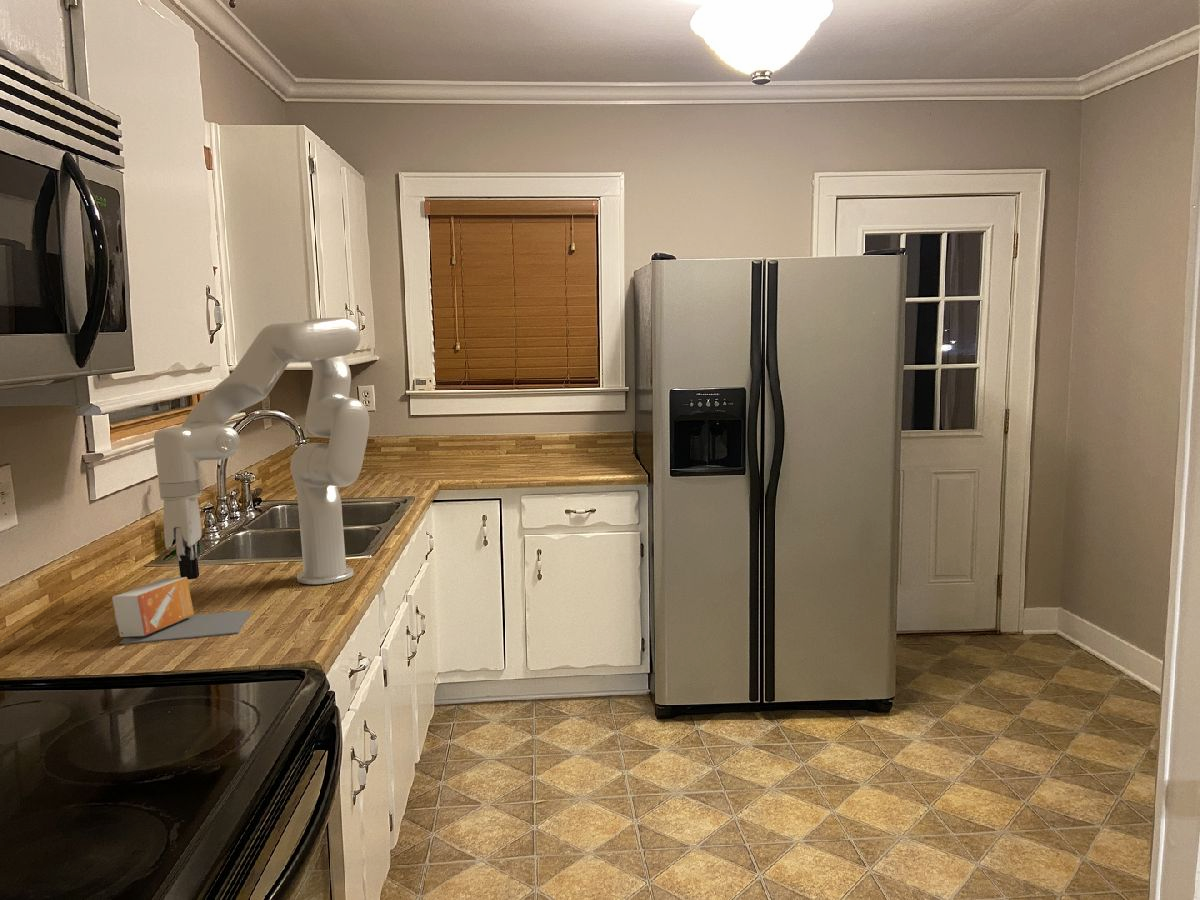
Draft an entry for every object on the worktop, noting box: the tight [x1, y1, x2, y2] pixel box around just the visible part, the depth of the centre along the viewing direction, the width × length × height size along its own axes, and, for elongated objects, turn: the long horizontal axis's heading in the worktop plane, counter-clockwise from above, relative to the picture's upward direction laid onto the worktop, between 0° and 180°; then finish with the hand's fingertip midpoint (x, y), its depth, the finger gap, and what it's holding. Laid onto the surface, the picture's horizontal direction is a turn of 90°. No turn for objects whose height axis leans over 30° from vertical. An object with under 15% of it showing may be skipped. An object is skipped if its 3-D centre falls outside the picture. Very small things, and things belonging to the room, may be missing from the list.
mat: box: [118, 609, 253, 645], centre depth 173 cm, size 14×21×1 cm, turn 101°
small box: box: [111, 577, 195, 638], centre depth 173 cm, size 8×6×13 cm
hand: (190, 578), depth 179 cm, fingers closed
